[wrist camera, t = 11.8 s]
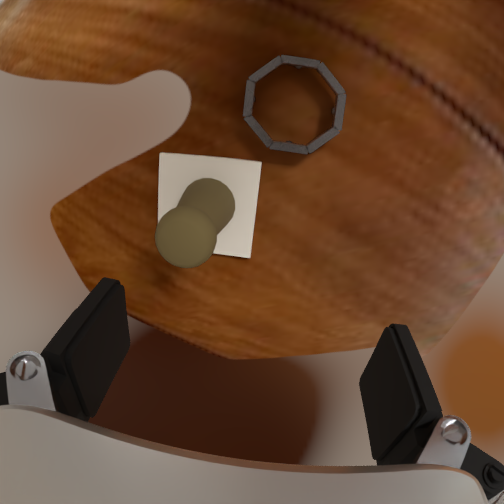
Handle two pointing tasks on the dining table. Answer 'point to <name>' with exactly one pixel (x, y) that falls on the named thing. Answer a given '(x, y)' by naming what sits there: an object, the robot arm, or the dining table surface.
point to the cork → (195, 223)
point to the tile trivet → (228, 172)
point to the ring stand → (298, 63)
